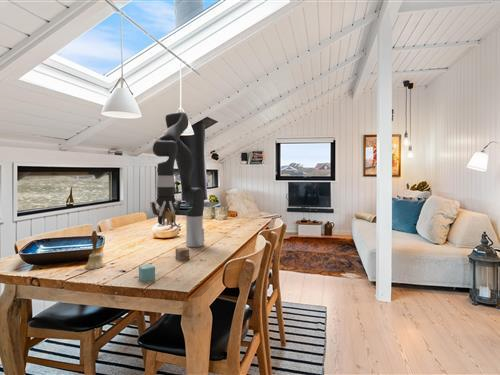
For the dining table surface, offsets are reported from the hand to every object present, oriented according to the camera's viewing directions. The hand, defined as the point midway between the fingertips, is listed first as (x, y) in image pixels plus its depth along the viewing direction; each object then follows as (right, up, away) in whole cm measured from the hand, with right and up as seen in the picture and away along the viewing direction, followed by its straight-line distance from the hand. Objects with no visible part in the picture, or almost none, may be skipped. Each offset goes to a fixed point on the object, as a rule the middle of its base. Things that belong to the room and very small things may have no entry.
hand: (166, 223), depth 140 cm
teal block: (-3, -20, -16) cm, 26 cm away
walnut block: (+5, -19, +12) cm, 22 cm away
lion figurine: (+1, -1, -1) cm, 2 cm away
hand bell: (-31, -19, -1) cm, 37 cm away
